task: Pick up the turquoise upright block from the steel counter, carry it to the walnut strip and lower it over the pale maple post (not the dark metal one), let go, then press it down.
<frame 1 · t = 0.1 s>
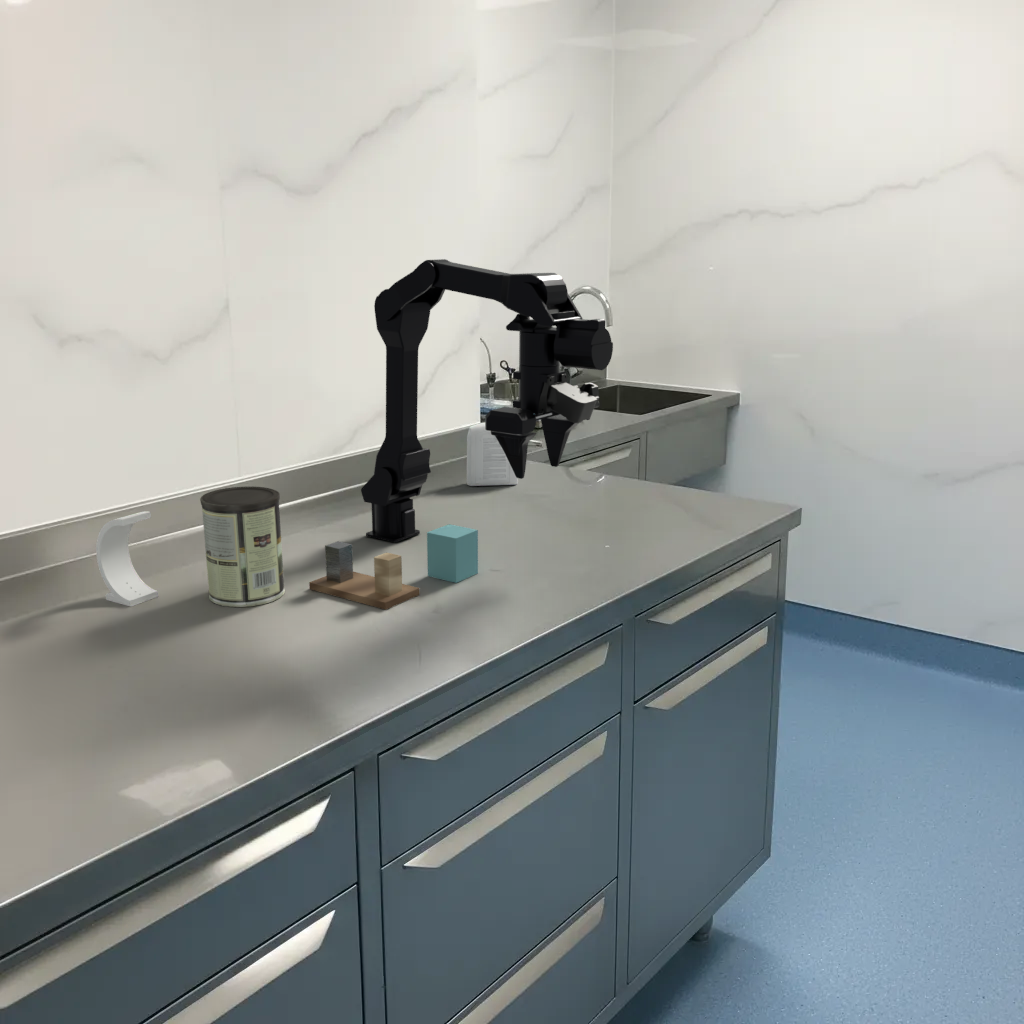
hand: (537, 472, 152), 15 cm above the worktop, tool pointing down, fingers open, 9 cm apart
coffee can: (246, 595, 144), on the worktop
dark metal post: (339, 562, 146), on the walnut strip, point 4 cm above the worktop
walnut strip: (364, 591, 145), on the worktop
turquoise upright block: (452, 574, 152), on the worktop
maple post: (388, 574, 141), on the walnut strip, point 4 cm above the worktop
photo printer: (492, 485, 205), on the worktop
headphone stand: (129, 598, 142), on the worktop
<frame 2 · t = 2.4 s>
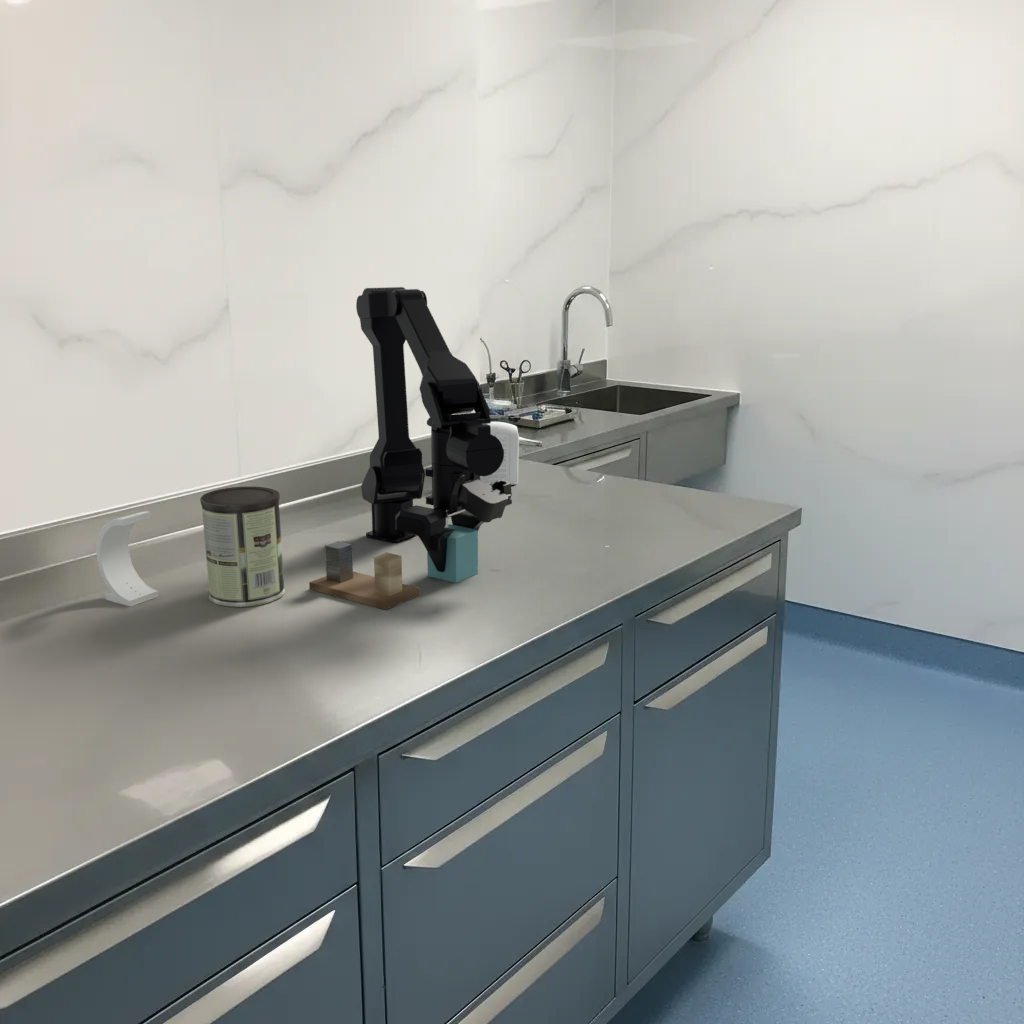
hand: (452, 566, 152), 1 cm above the worktop, tool pointing down, fingers closed on turquoise upright block, 5 cm apart
turquoise upright block: (452, 574, 152), on the worktop, touching gripper
everything else where it was.
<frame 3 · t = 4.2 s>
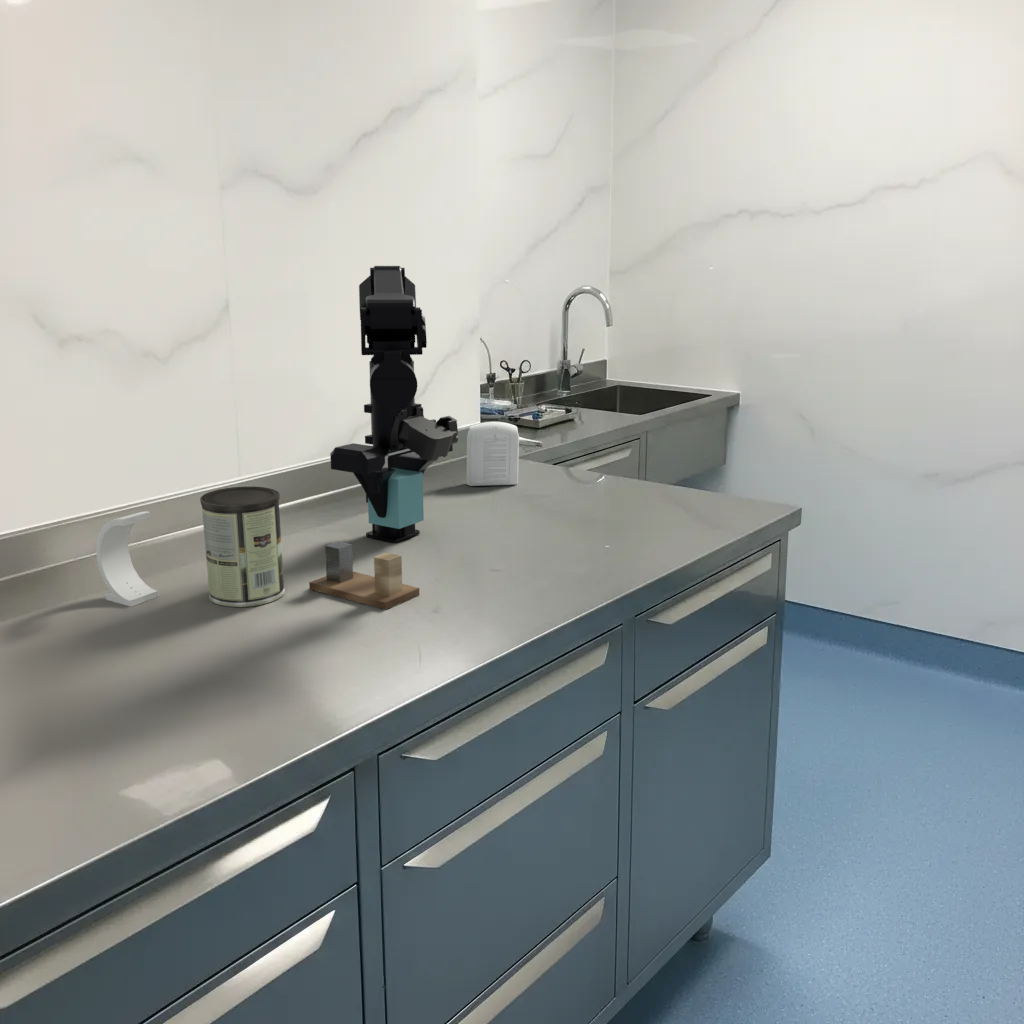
hand: (395, 512, 140), 12 cm above the worktop, tool pointing down, fingers closed on turquoise upright block, 5 cm apart
turquoise upright block: (396, 521, 140), point 11 cm above the worktop, touching gripper
everything else where it was.
when the fingers open (3 cm above the worktop, at t = 6.0 s): turquoise upright block drops 1 cm, resting on walnut strip.
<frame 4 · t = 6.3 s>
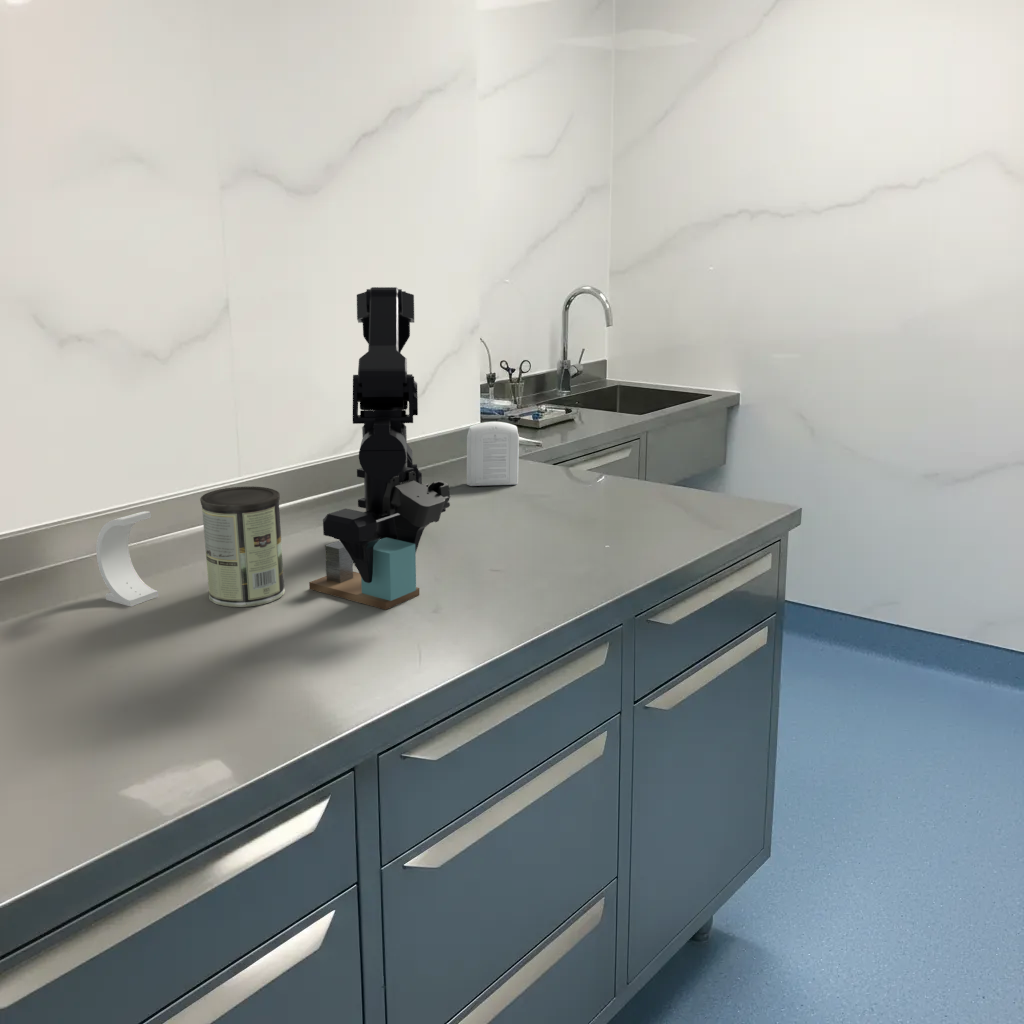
hand: (388, 574, 141), 3 cm above the worktop, tool pointing down, fingers open, 8 cm apart
turquoise upright block: (389, 591, 142), point 1 cm above the worktop, touching walnut strip
everything else where it was.
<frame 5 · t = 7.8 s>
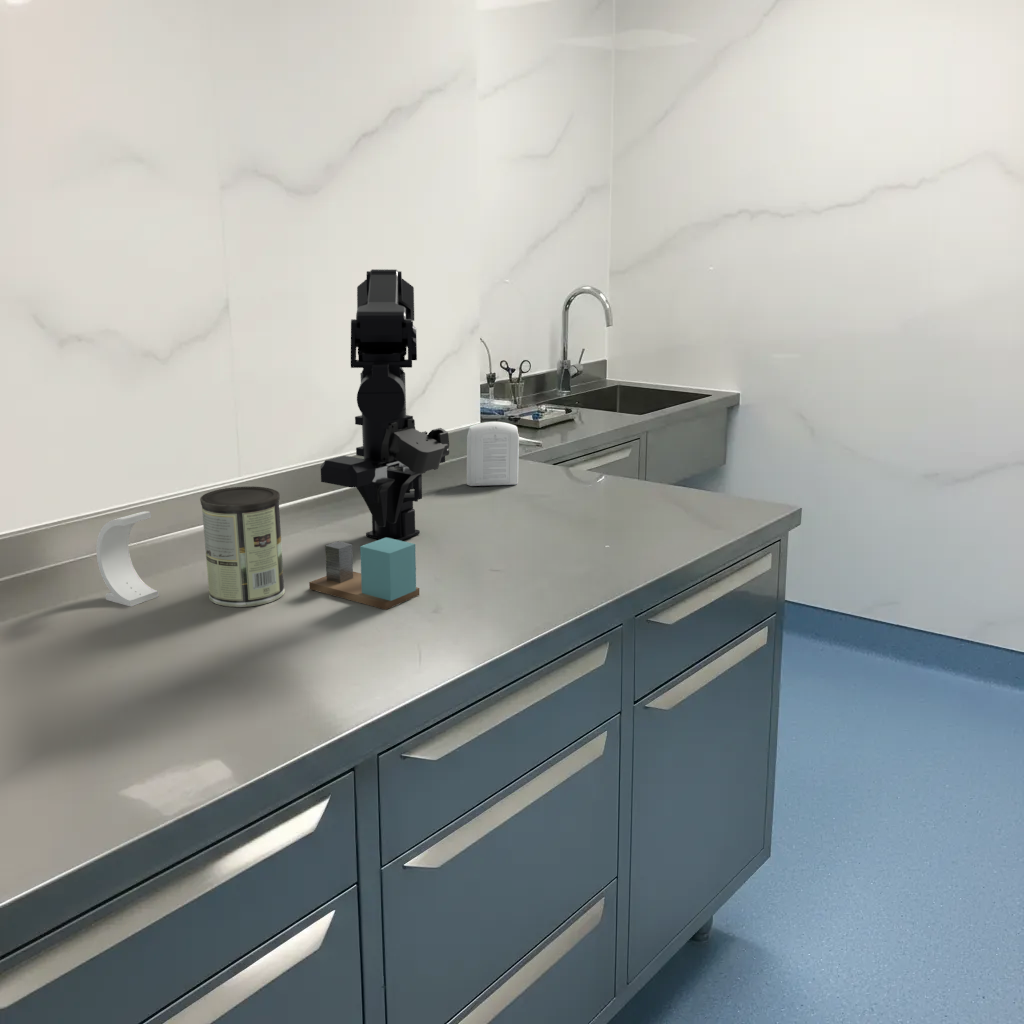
hand: (386, 524, 140), 10 cm above the worktop, tool pointing down, fingers closed
nothing on the worktop moved.
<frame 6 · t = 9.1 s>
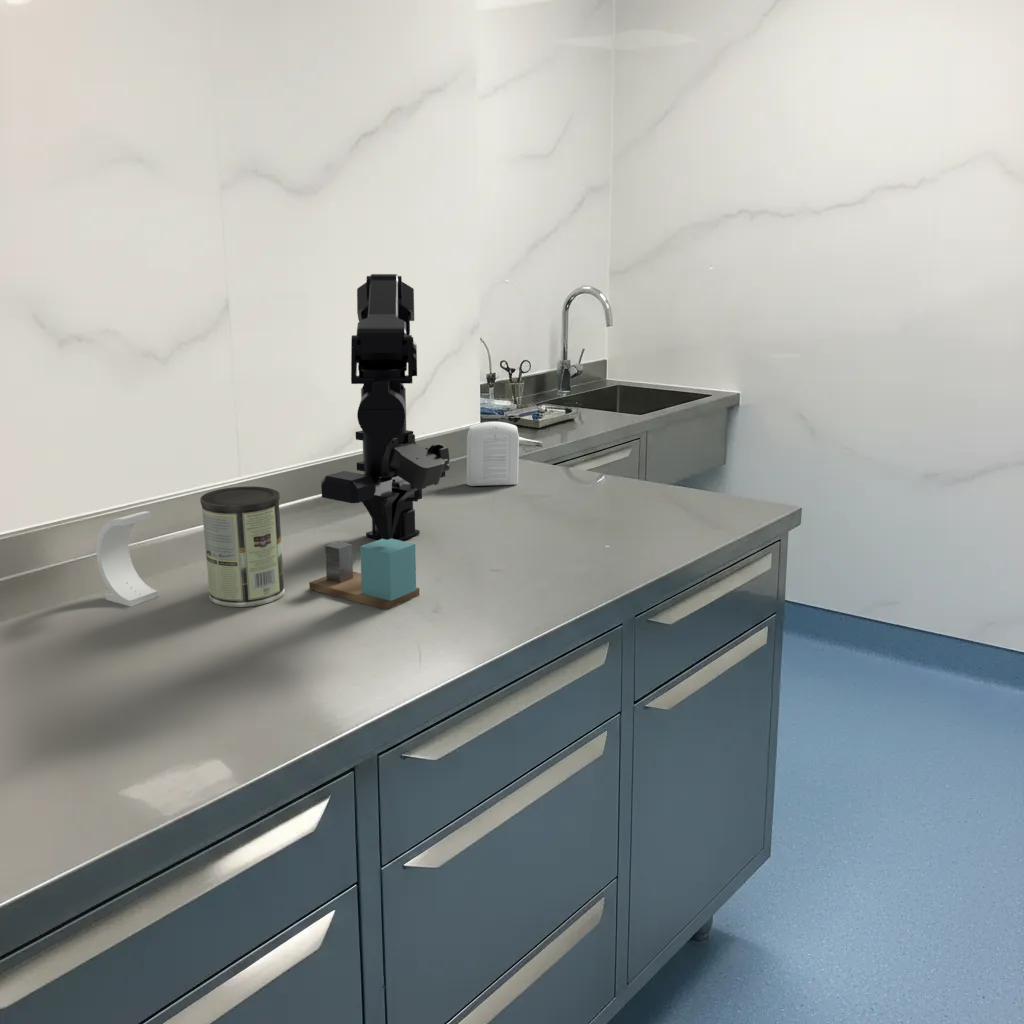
hand: (387, 538, 140), 8 cm above the worktop, tool pointing down, fingers closed
nothing on the worktop moved.
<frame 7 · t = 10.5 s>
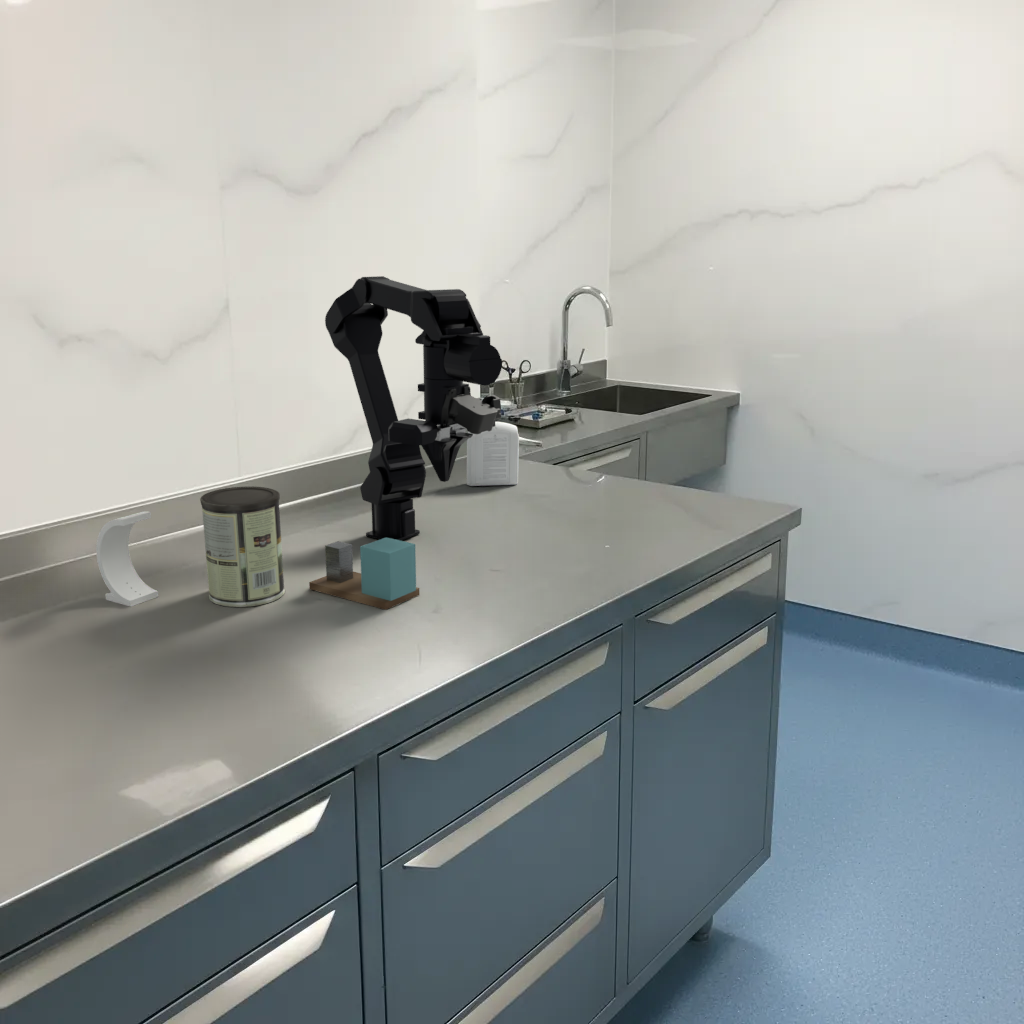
hand: (444, 481, 157), 12 cm above the worktop, tool pointing down, fingers closed
nothing on the worktop moved.
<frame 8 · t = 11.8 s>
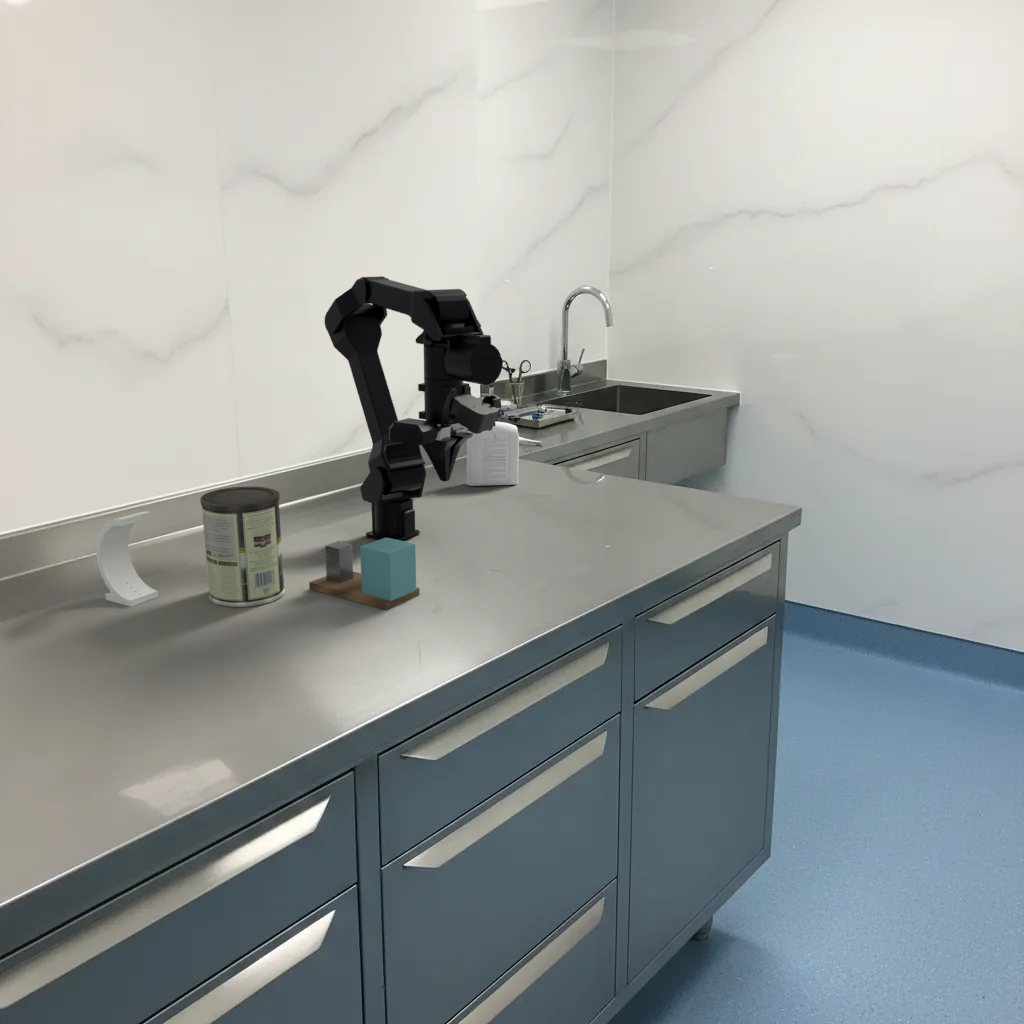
hand: (444, 480, 157), 12 cm above the worktop, tool pointing down, fingers closed
nothing on the worktop moved.
at the end: turquoise upright block 0.1 cm from the maple post (horizontally); turquoise upright block point 1.0 cm above the worktop; the gripper is holding nothing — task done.
